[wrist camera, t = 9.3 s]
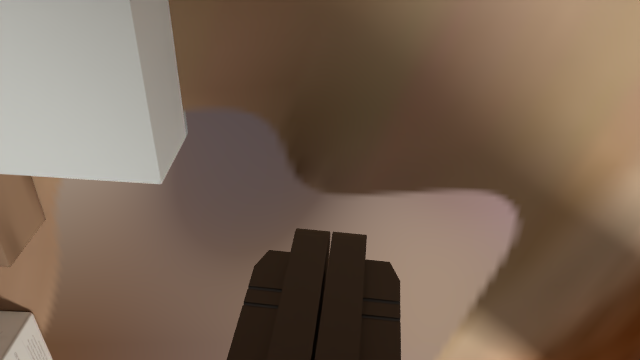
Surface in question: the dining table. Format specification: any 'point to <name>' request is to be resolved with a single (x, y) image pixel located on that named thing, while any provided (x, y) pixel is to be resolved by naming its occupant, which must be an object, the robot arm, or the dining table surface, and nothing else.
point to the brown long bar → (17, 216)
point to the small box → (21, 337)
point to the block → (89, 90)
